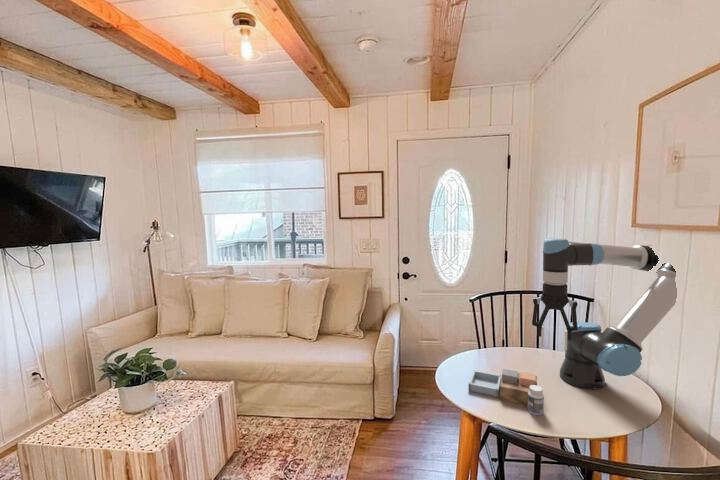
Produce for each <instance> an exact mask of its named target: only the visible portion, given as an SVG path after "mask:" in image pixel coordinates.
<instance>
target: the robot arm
mask: <svg viewBox="0 0 720 480" xmlns="http://www.w3.org/2000/svg"><path fill="white" fill-rule="evenodd" d="M542 246H543V249H542V257H543V258H542V282H543V283H542V293H541V296H539V297H536V296H535V297H532V303H533V312H532V320H531V324H532V326H535V327H536V328H537V331H536V332H537V334H536V335H537V337H540V347H541V348H544V340H545V339H544V336H545V335H544V334H545V333H544V332H545V331H544V330H545V329H544V326H543V325H544V322H545V320H546V318H547V315H548V314H549V312H550V310H557V311H559V312H560V315H561V317H562V320H563V322H564V325H565V329H563V349H564V359H563V361H562V363H561V366H560V368H559V377H560V379H561V380H563V381H564V382H565V383H568V384H570V385H572V386H575V387H578V388H582V389H587V390H588V389H589V390H599V389H602V388H604V387H605V385H606V379H605V375H604V372H606V373H610V374H611V375H613V376H618V377H627V376H630V375H633V374H634V373H636V372H637V371H638V370H639V369H640V367H641V365H642V361H643V357H642V354H641V353H642V351H643V350H644V349H643V346H642V342H644V341H645V339H646V338H647V337H648V335H650V333H651V332H652V331H653V330H654V329H655V328H656V327H657V325H659V323H660V322H661V321H662V320H663V319H664V318H665V317H666V315H667V314H669V312H670V311H671V310H672V308H673V307H675V305H676V304H677V303H676V298H677V288H676V282H675V277H676V271H675V269H674V268H673V266H672V265H671V264H669V263H664V264H662V266H661V267H660V268H659V269H658V270H657V272H656V273H657V274H656V275H657V278H656V279H655V280H654V281H653V283H651V284H650V286H649V287H648V288H647V289H646V290H645V292H644V293H643V294H641V296H640V297H639V299H638V300H637V301H636V302H635V303H634V304H632V306H631V308H629V309H628V311H626V313H625V314H624V316H623V317H621V319H620V320H619V321H618V322H617V324H616V325H614V326H607V327H606V328H605V329H604V330H603V329H602V328H601V325H599V324H597V323H594V322H587V321H586V322H585V321H584V322H583V321H578V317H577V308H578V305H579V304H578V301H577V300H572V299H569V297H568V284H567V283H569V282H568V279H569V277H568V276H569V273H568V272H569V266H570V267H571V266H594V265H595V266H597V265H610V266H611V265H612V266H620V267H621V266H622V267H629V268H630V269H632V270H635V271H636V270H638V271H644V272H648V271H649V270H651V269H652V268H653V266H656V264H657V263H658V261H659V260H658V259H659V258H658V256H657V255H655V253H654V251H653V250H652V248H650V247H649V246H650V245H640V244H639V245H638V244H635V245H632V246H623V245H611V244H610V245H609V244H602V243H601V244H599V243H590V242H576V241H569V240H568V239H566V238H546V239H544V241H543V245H542ZM541 302H542V303H543V304H544V308H543V311H542V313H541V315H540V318H539V320H538V321H537V317H538V310H539V304H541ZM675 303H676V304H675ZM567 304H569V307H570V310H571V319H572V320H571V321H572V322H569V319H568V317H567V314H566V311H565V309H564V308H565V307H566V305H567ZM602 330H603V331H602ZM603 371H604V372H603Z"/></svg>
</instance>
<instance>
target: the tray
mask: <svg viewBox="0 0 720 480" xmlns="http://www.w3.org/2000/svg"><path fill="white" fill-rule="evenodd" d="M501 377H502V374H496V373H495V374H494V373H489V372H486V371H485V372H484V371H481V370H472V373H471V377H470V379H469V381H468V392H471V393H475V394H480V395H484V396H490V397H493V398H500V382H501Z"/></svg>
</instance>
